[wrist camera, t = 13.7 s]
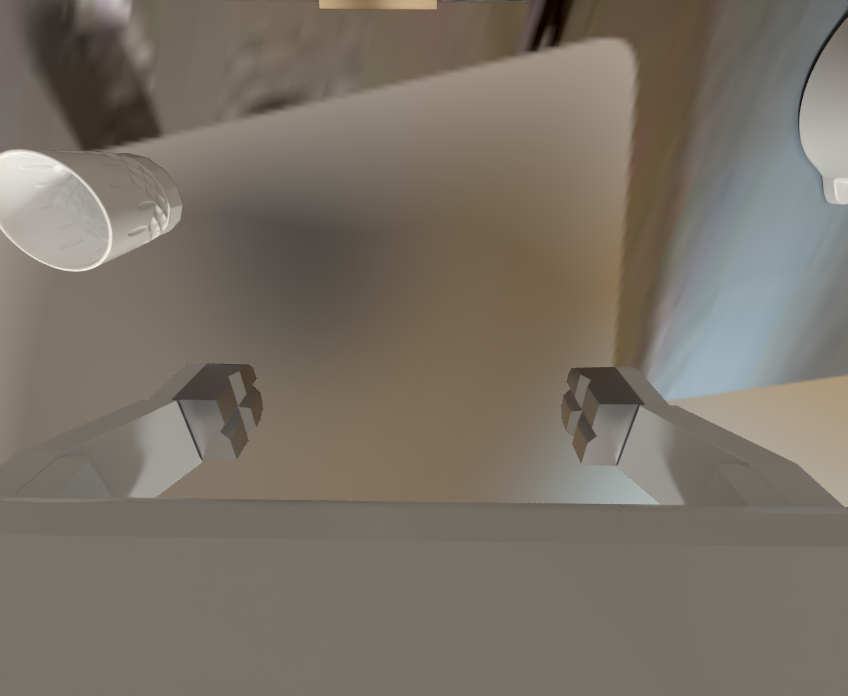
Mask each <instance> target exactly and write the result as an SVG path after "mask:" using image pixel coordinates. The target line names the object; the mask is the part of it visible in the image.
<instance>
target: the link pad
mask: <svg viewBox="0 0 848 696" xmlns="http://www.w3.org/2000/svg"><path fill="white" fill-rule="evenodd" d="M319 6H320V8H321V9H437V0H319Z"/></svg>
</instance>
